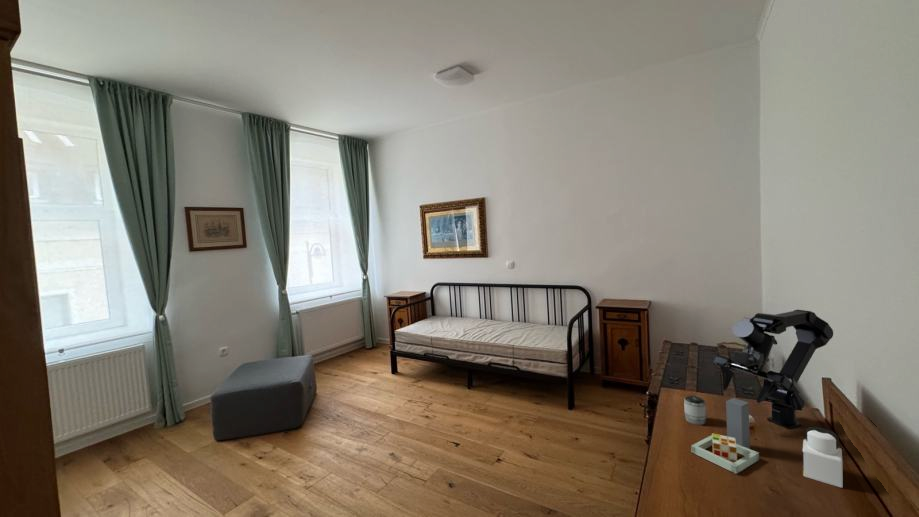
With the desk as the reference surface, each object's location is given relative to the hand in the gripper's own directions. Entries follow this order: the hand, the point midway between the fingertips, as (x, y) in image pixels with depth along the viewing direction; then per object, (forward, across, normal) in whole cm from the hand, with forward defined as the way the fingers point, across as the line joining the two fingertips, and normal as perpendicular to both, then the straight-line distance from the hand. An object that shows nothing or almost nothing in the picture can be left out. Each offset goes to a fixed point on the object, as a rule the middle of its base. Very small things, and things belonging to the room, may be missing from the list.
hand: (740, 396), depth 112 cm
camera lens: (+12, -13, +8) cm, 19 cm away
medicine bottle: (+11, +20, +5) cm, 24 cm away
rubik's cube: (+20, +4, -5) cm, 20 cm away
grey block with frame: (+18, +3, -3) cm, 18 cm away
